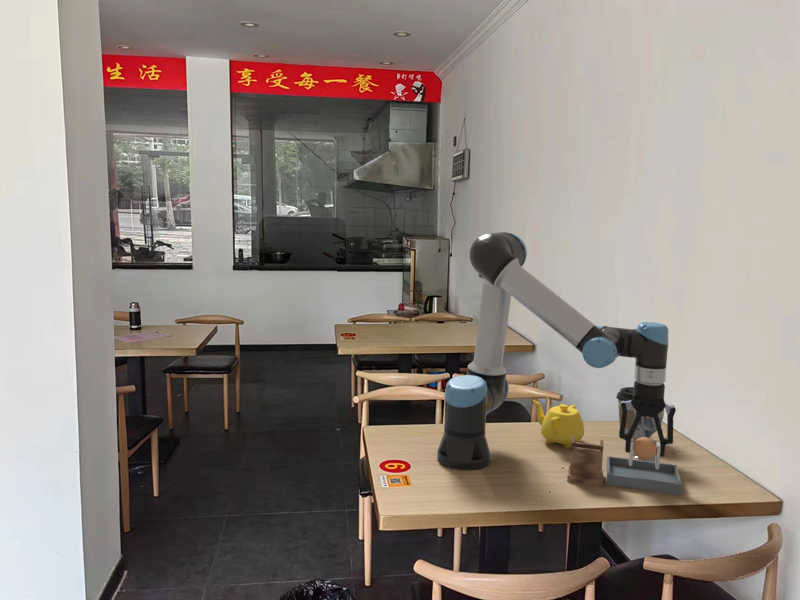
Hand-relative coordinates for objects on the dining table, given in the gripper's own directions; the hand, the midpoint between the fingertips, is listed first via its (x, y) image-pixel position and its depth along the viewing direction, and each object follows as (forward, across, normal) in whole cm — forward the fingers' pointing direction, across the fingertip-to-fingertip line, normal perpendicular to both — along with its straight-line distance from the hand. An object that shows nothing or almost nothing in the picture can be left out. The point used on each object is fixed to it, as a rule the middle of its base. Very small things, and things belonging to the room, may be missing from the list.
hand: (643, 465), depth 166 cm
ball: (-2, 0, 0) cm, 2 cm away
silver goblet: (+4, +2, +18) cm, 18 cm away
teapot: (+4, -24, +22) cm, 33 cm away
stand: (+4, -15, -4) cm, 16 cm away
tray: (+4, 0, 0) cm, 4 cm away
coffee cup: (+4, -1, +34) cm, 34 cm away
